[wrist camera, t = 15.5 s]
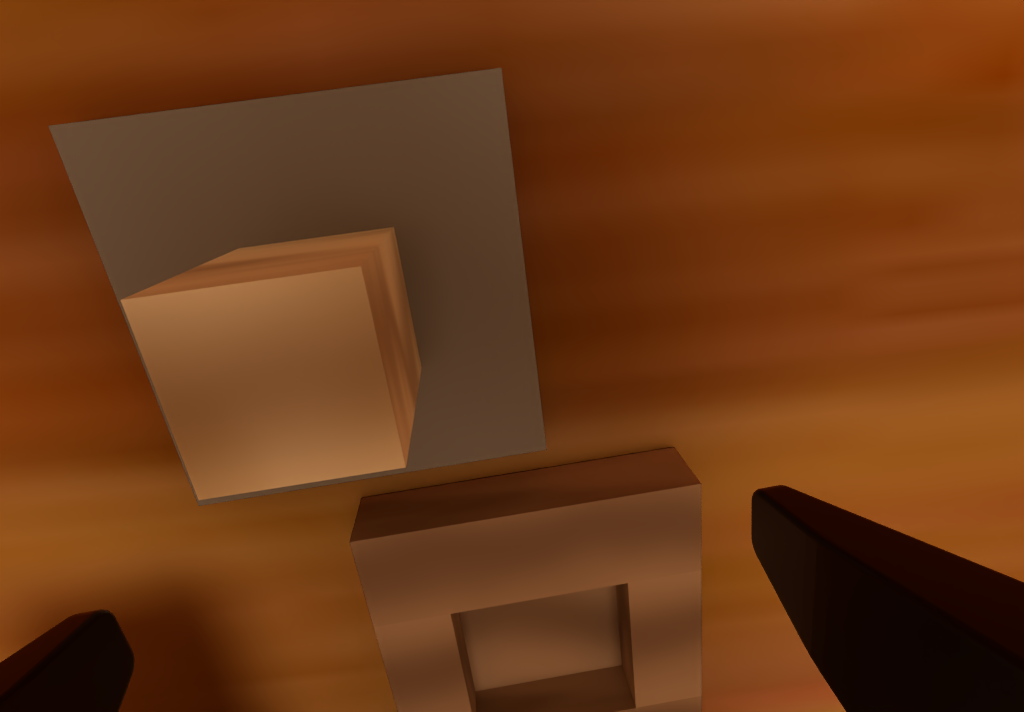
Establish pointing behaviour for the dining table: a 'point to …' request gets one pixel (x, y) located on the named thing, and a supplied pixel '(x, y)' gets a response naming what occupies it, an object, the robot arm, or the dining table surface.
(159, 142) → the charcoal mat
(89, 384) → the dining table surface
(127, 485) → the dining table surface
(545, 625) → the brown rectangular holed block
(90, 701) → the robot arm
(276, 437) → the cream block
